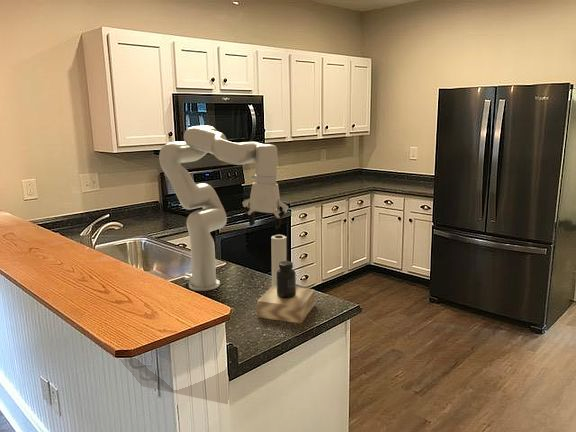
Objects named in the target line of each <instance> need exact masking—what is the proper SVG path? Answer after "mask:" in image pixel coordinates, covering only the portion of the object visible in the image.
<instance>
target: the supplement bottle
mask: <svg viewBox="0 0 576 432" xmlns="http://www.w3.org/2000/svg"><path fill="white" fill-rule="evenodd" d="M296 273H297V272H296V270H295V269H294V265H293V262H292V261H290V260H286V261H282V262H279V270H278V271H277V273H276V281H277V295H278V297H280V298H292V297H294V296H295V295H296V288H297V275H296Z"/></svg>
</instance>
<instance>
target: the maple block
mask: <svg viewBox="0 0 576 432" xmlns="http://www.w3.org/2000/svg"><path fill="white" fill-rule="evenodd" d="M256 302H257V304H256V305H257V307H256V308H257V309H256V310H257V311H256V312H257V313H256V315H257V318H261V319H267V320H275V321H280V322H289V323H295V324H303V322H304V321H305V319H306V318H307V317H308V315H309V314H310V312H311V311H312V309H313V308H314V306H315V289H313V288H311V289H310V288H303V287H296V295H295V296H294V297H292V298H280V297H278V295H277V285H273V286H272V285H271V286H270V288H269V289H267V290H266V291H265V292H264V293H263V295H262V296H260V298H259V299H258V300H257V301H256Z"/></svg>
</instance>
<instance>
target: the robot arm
mask: <svg viewBox="0 0 576 432" xmlns="http://www.w3.org/2000/svg"><path fill="white" fill-rule="evenodd" d="M184 131H185V132H183V140H184V141H183V140H182V141H172V142H168V143H166V144H164V145H163V146H162V147H161V148H160V150H159V155H158V158H159V166H160V168H161V170H162V172H163V173H164V174H165V176H166V178H167V179H168V181H169V183H170V185H171V187H172V189H173V191H174V193H175V195H176V197H177V199H178V201H179V203H180V205H181V207H182V208H183V209H185V210H194V209H197V210H195V211H193V212H191V213H190V214H189V215H188V216H187V218H186V227H187V231H188V232H187V233H188V236H189V242H190V243H189V245H190V259H191V260H190V261H191V273H185V274H184V280H185V281H186V280H188V281H189V283H188V288H189V289H190V290H192V291H197V292H206V291H211V290H213V291H214V290H215V289H218V288H219V287H221V286H220V285H221V282H220V280H219V279H217V271H216V268H217V267H216V250H215V249H216V248H215V247H216V246H215V241H214V238H213V236H212V235H211V232H213V231H216V230H219V229H223V228H224V227H225V226H226V225H227V222H228V218H227V213H226V210H225V208H224V205H223V204H222V202H221V200H220V198H219V195H218V194H217V192H216V190H215V189H214V188H213V187H212V185H211V184H208V183H205V182H203V183H195V181H194V179H193V178H192V175H191V174H190V172H189V170H187V168H185V167H184V166H182V164H184V163H193V162H197V161H198V160H200V159H202V158H203V157H204V156H205V155H207V154H211V155H213V156H214V157H215V158H216V159H218V160H219V161H222V162H224V163H228V164H231V165H236V166H240V165H241V166H242V165H247V164H254V163H255V166H254V167H255V168H254V169H255V170H254V171H255V173H254V174H253V175H251V180H254V182H253V183H252V186H251V191H250V196H249V198H248V199H246V200H244V201H242V203H241V204H242V205H243V207H244V210H245V212H246V213H247V215H248V223H249V226H250V227H252V226H254V225H255V224H256V214H255V212H256V213H258V212H259V213H266V214H267V213H268V214H273V215H274V216H275V218H274V229H275V230H278V229H279V228H280V227H281V224H282V223H281V221H282V216H284V215H285V214H286V213H287V211H288V209H289V205H287V204H286V203H284V202H282V201H281V200H280V199H281V198H280V190H279V184H278V183H277V175H278V174H277V173H278V147H277V145H274V144H270V143H261V142H258V141H242V142H232V141H229V140H227V137H226V135H225V134H224V133H223V132H220V131H218V129H216V128H215V127H214V126H211V125H195V126H191V127H188V128H186V130H184ZM280 207H281V208H282V211H281V210H280ZM199 208H202V209H199Z"/></svg>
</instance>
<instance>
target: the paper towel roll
mask: <svg viewBox="0 0 576 432" xmlns="http://www.w3.org/2000/svg"><path fill="white" fill-rule="evenodd" d="M270 239H271V243H270V244H271V245H270V246H271V251H270V252H271V253H270V254H271V287H272V286H273V285H277V281H276V273H277V271H278V270H279V262H282V261H287V236H285V235H283V234H279V233H278V234H275V235H272V236H271V238H270Z"/></svg>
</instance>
